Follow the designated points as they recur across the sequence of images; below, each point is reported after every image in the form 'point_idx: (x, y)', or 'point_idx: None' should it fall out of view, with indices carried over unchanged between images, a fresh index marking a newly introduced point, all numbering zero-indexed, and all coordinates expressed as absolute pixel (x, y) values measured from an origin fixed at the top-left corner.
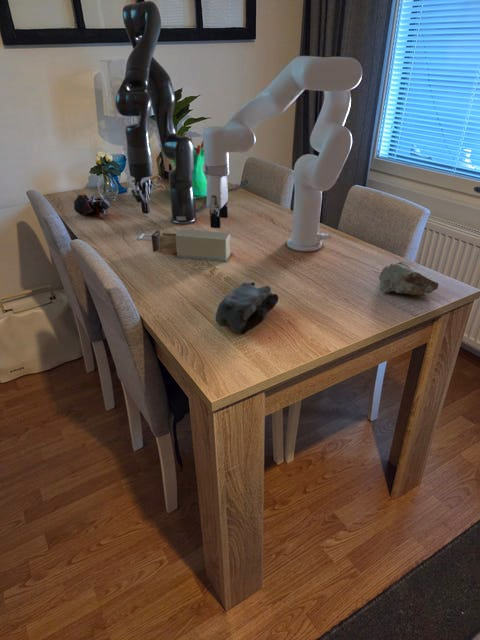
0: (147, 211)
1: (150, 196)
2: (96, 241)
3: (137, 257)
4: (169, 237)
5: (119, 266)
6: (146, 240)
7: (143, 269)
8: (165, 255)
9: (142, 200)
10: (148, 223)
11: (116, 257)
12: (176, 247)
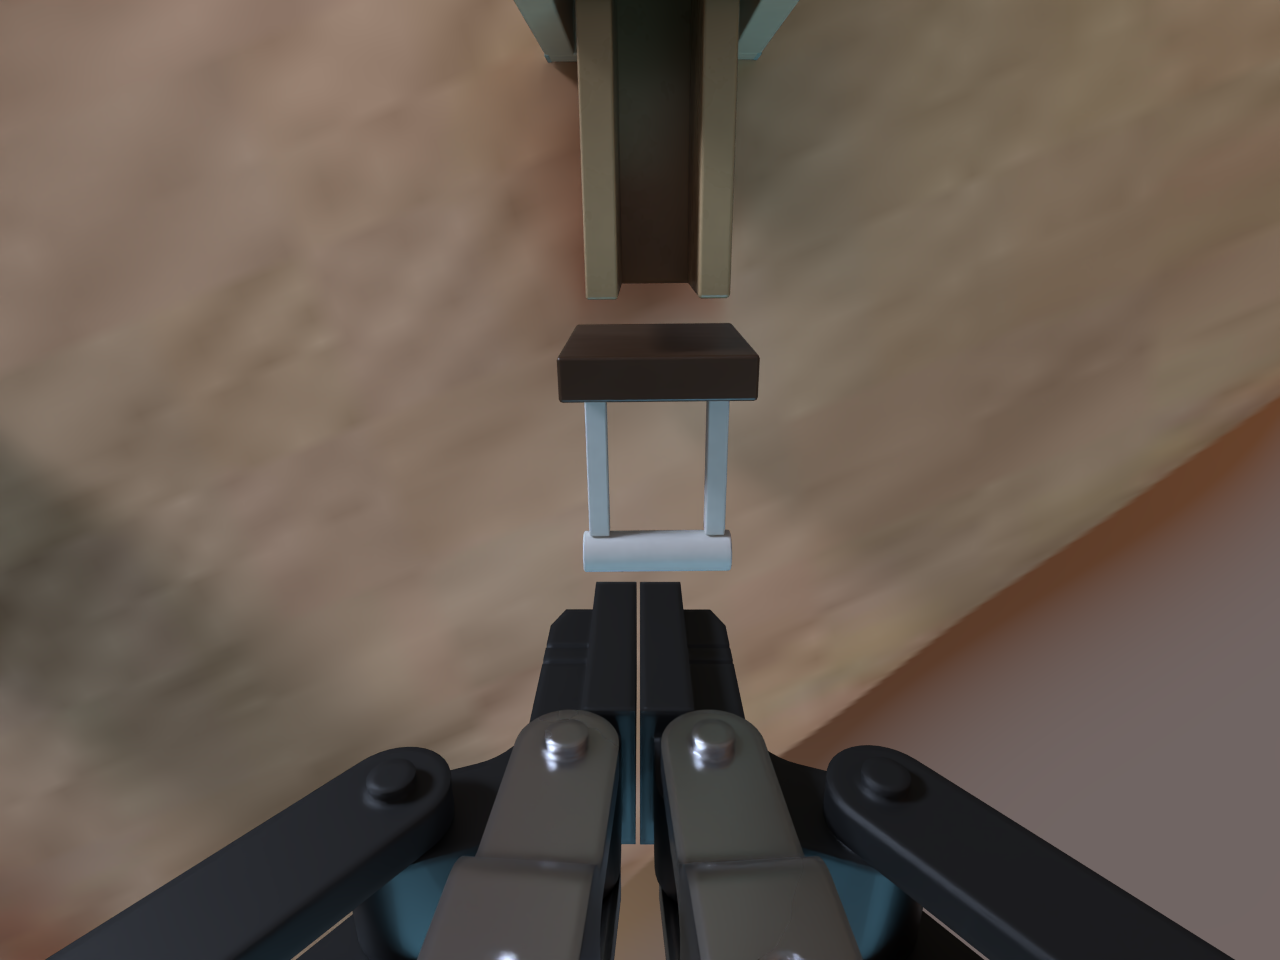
0: (679, 604)
1: (416, 785)
2: None
3: (828, 466)
4: (734, 135)
5: (1034, 535)
6: (724, 456)
7: (1095, 304)
8: (737, 213)
9: (1002, 832)
10: (18, 686)
11: (853, 630)
12: (776, 28)
